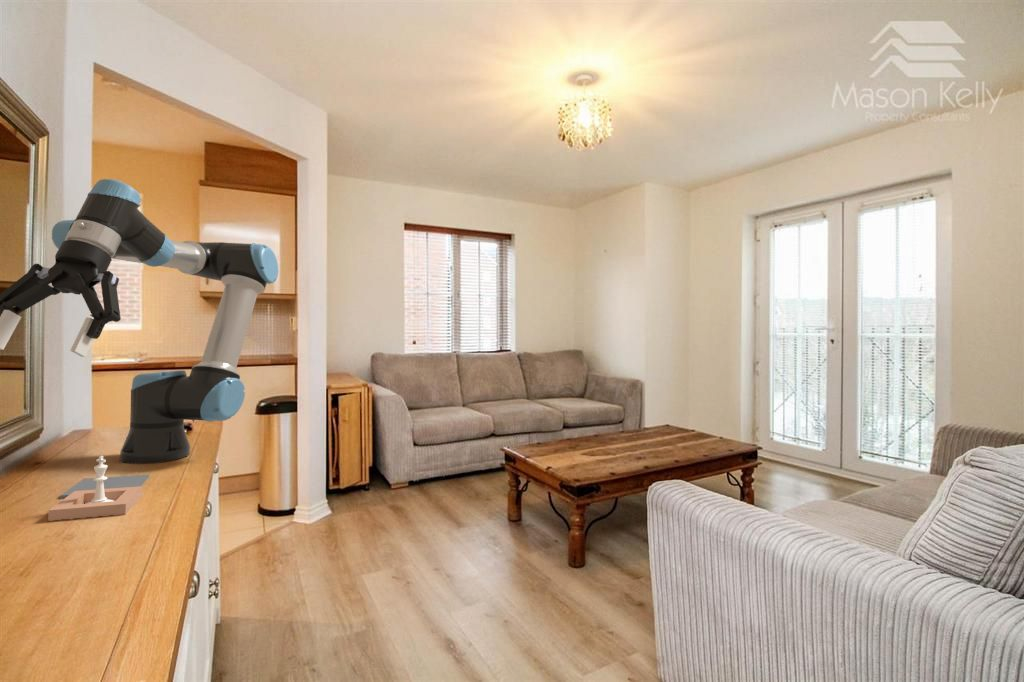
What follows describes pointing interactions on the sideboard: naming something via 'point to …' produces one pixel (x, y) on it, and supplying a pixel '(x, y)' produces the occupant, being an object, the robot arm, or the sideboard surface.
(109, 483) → the mat
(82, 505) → the pocket holder
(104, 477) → the chess piece
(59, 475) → the sideboard surface
